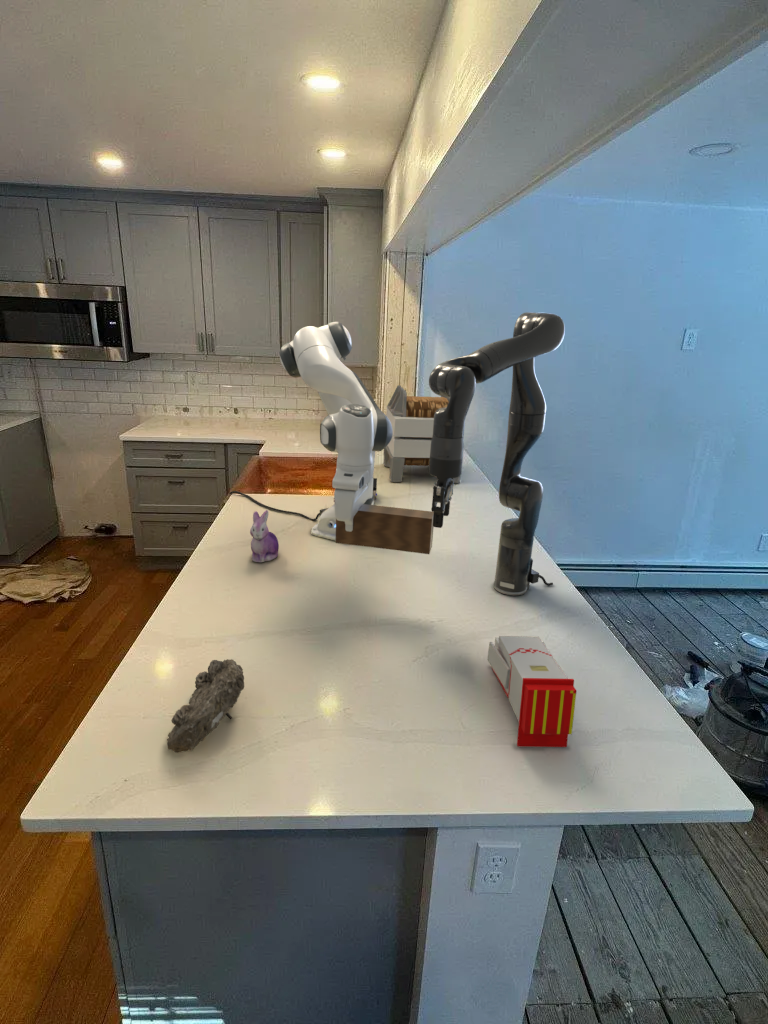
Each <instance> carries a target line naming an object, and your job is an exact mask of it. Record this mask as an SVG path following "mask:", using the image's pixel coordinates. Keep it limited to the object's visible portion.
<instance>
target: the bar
mask: <svg viewBox="0 0 768 1024" xmlns="http://www.w3.org/2000/svg"><path fill="white" fill-rule="evenodd" d="M433 516H434V512H432V510H422V509H413V508H404V507H403V508H402V507H395V506H385V505H378V504H377V505H376V504H374V505H368V504H363V505H362V506H361V507H360V508H359V510H358V512H357V513H356V515H355V516H354V518H353V523H354V529H353V530H352V531H351V532H349V531H346V530H345V521H338V520H337V519H336V541H335V544H343V545H349V546H350V545H351V546H359V547H365V548H375V549H376V548H377V549H383V550H391V551H399V552H407V553H414V554H415V553H416V554H421V555H422V554H424V555H430V554H431V551H432V548H433V541H434V540H433V539H434V528H435V527H433Z"/></svg>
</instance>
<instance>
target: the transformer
mask: <svg viewBox="0 0 768 1024" xmlns="http://www.w3.org/2000/svg"><path fill="white" fill-rule="evenodd" d="M407 394H408V393H407V390H406V389H404V388H403V387H402V385H399V384H398V385H397V386H396V388H395V390H394V392H393V394H392V395H391V398H390V400H389V402H388V404H387V405H386V413H385V415H386V416H387V417H388V419H389V420H390V422H391V425H392V430H393V435H392V439H391V441H390V442H389V444H388V445H387V446H386V447H385V448H384V449H383V466H384V467H388V468H389V475H388V476H389V477H388V478H389V480H390V482H391V483H402V482H403V475H404V469H405V466H406V467H407V466H411V467H412V466H413V467H415V466H416V467H417V466H418V467H429V461H430V447H431V440H432V435H433V421H434V414H435V411H436V410H437V409H440V408H446V407H447V406H448V403H449V400H450V398H449V397H444V396H415V395H414V396H413V395H412V396H411V395H407ZM455 483H456V484H459V483H461V475H460V476H459V477H457V478H454V484H455Z"/></svg>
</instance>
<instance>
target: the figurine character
mask: <svg viewBox="0 0 768 1024" xmlns="http://www.w3.org/2000/svg"><path fill="white" fill-rule="evenodd" d="M377 484H378V478H377V477H373V496H374V500H376V498H377V496H378V493H377V487H378V485H377Z"/></svg>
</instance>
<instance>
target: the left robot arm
mask: <svg viewBox="0 0 768 1024" xmlns="http://www.w3.org/2000/svg"><path fill="white" fill-rule="evenodd" d="M352 345H353V344H352V336H351V333H350V331H349V330H348V329H347V328H346V326H344V325H343V323H342V322H340V321H332V322H328V323H327V324H325V325H321V326H318V327H317V326H313V325H309V326H308V325H307V326H304V327H302V328H300V329H299V330H297V332H296V333H295V334H294V337H293V339H292V340H291V341H287V342H286V343H284V344H283V345H282V346H281V347H280V350H279V359H280V360H279V361H280V364H281V366H282V368H283V370H284V371H285V372H286V373H287V374H288V375H289V376H290V377H292V378H301V380H302V381H303V383H304V384H305V385H306V386H307V387H308V388H310V389H312V390H313V391H316V392H317V393H318V396H319V398H320V400H321V403H322V404H323V407H324V409H325V411H326V413H327V415H326V416H325V417H324V418H323V420H322V421H321V423H320V424H319V440H320V444H321V445H322V446H323V447H324V449H326V450H327V451H328V452H332V453H337V457H336V458H337V459H336V468H335V474H334V476H333V478H332V481H331V486H332V489H334V491H333V492H334V493H333V505H331V506H329V507H326V508H322V509H320V510H319V513H317V515H316V516H315V518H310V517H309V516H307V515H305V514H303V513H300V512H295V511H289V510H285V509H284V510H283V509H279V508H276V507H271V506H269V505H266V504H263V503H262V502H259V500H258V501H257V500H256V499H254V498H253V497H252V496H250V495H248V494H245V493H243V492H240V491H238V490H232V491H230V492H229V495H232V494H238V495H241V496H243V497H246V498H248V499H249V500H250V501H252V502H254V503H255V504H257V505H259V506H261V507H263V508H266V509H269V510H272V511H275V512H279V513H285V514H290V515H296V516H300V517H303V518H305V520H306V519H307V520H308V521H312V522H315V521H317V520H318V521H317V523H315V524H314V525H313V526H312V528H311V530H310V533H311V536H315V537H319V538H323V539H326V540H330V541H335V542H336V519H337V520H338V521H345V530H346V531H349V532H351V531H352V530H353V529H354V523H353V518H354V516H355V515H356V513H357V512H358V510H359V508H360V507H361V506H362V505H363V504H368V505H375V499H374V496H373V478H374V474H375V473H374V472H375V460H376V452H382V451H384V448H385V447H386V446H387V445H388V444H389V442H390V441H391V439H392V435H393V430H392V425H391V422H390V420H389V419H388V417H387V416H386V413H384V411H382V410H381V409H380V407H379V406H378V404H377V403H376V402H375V400H374V398H373V396H372V395H371V393H370V391H369V390H368V388H367V387H366V386H365V383H364V382H363V381H362V379H361V378H360V377H359V375H358V374H357V372H355V371H353V370H352V369H350V368H349V367H347V366H346V365H345V364H344V363H343V362H342V361H341V360H340V359H343V360H344V361H345V360H347V356H348V355H349V354H350V353H351V351H352V349H353V347H352Z"/></svg>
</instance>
